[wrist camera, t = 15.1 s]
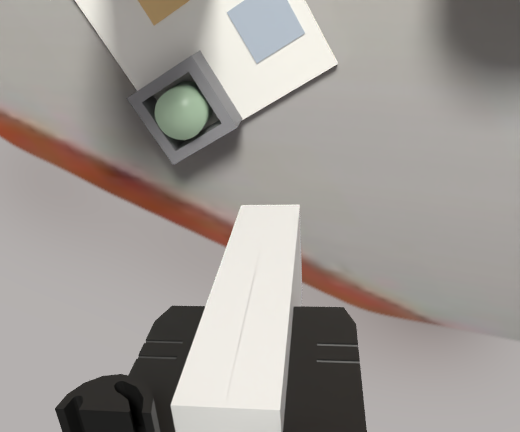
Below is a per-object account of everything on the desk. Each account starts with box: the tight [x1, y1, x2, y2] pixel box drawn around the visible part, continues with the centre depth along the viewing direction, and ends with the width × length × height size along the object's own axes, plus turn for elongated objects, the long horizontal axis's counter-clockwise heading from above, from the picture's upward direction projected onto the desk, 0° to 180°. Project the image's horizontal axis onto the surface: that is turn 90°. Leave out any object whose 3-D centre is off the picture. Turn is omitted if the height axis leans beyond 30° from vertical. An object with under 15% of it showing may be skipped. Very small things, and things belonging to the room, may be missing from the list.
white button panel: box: [75, 0, 338, 165], centre depth 33 cm, size 18×14×3 cm
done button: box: [155, 81, 213, 140], centre depth 36 cm, size 4×4×3 cm
